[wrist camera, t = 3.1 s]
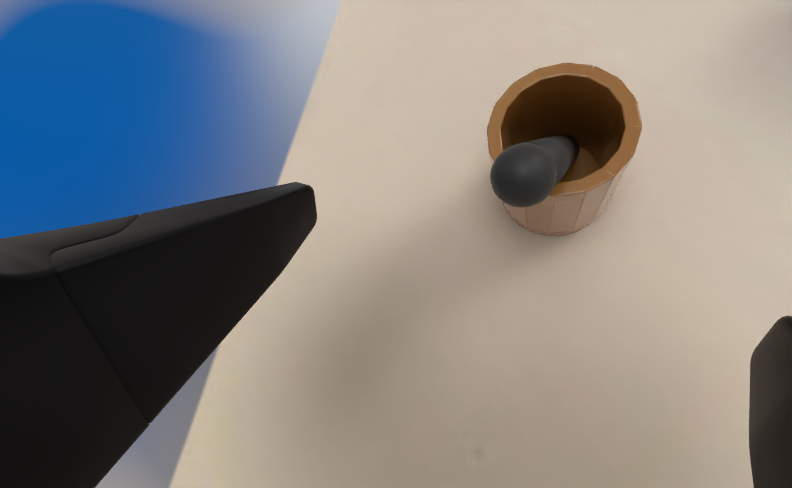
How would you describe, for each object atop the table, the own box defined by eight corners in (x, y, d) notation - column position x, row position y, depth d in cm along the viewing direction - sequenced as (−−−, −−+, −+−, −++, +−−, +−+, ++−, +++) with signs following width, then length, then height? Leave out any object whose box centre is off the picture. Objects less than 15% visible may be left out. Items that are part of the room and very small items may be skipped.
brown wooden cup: (593, 248, 17) (617, 210, 12) (487, 220, 19) (469, 177, 14) (623, 148, 18) (658, 71, 12) (517, 130, 19) (510, 55, 14)
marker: (541, 277, 17) (547, 203, 8) (509, 267, 17) (478, 187, 8) (581, 145, 18) (634, -76, 8) (550, 139, 18) (565, -76, 9)
